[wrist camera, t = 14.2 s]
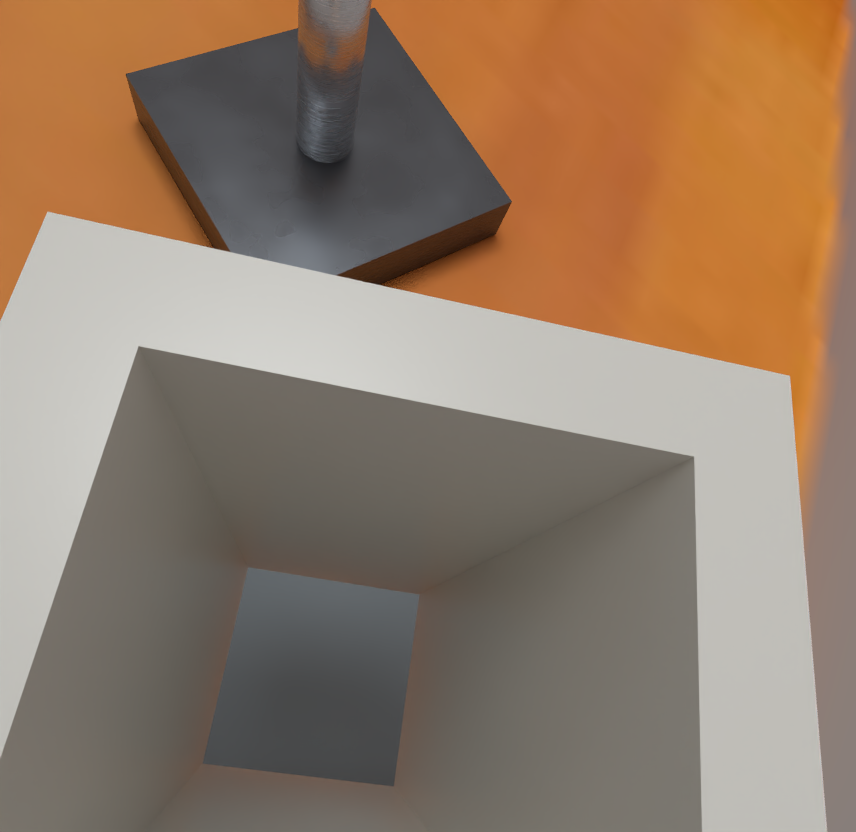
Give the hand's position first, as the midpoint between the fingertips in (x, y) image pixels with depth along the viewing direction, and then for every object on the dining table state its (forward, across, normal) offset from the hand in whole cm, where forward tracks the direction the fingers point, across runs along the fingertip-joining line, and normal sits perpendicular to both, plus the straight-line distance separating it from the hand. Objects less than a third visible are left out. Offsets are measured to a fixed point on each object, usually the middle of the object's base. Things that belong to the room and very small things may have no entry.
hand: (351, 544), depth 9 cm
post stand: (+19, +3, -3) cm, 19 cm away
